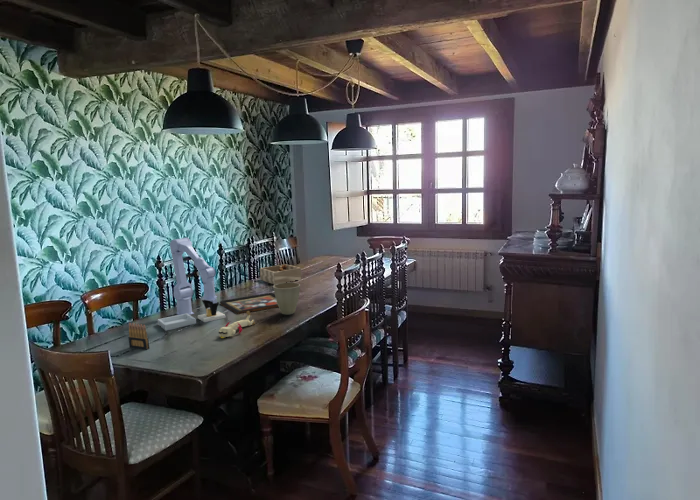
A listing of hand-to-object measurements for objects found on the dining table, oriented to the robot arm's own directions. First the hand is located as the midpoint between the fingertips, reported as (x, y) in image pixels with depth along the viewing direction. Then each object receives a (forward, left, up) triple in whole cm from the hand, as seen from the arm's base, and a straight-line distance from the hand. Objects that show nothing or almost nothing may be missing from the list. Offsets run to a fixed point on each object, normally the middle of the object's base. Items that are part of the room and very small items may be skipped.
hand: (211, 313), depth 265 cm
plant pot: (+20, +37, -3) cm, 42 cm away
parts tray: (-3, -18, -3) cm, 18 cm away
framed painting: (-11, +32, -4) cm, 34 cm away
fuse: (0, 0, -2) cm, 2 cm away
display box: (-62, +77, -3) cm, 99 cm away
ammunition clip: (+22, -43, -3) cm, 48 cm away
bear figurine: (-61, +77, -3) cm, 98 cm away
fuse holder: (0, 0, -3) cm, 3 cm away
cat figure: (+31, +1, -3) cm, 31 cm away
